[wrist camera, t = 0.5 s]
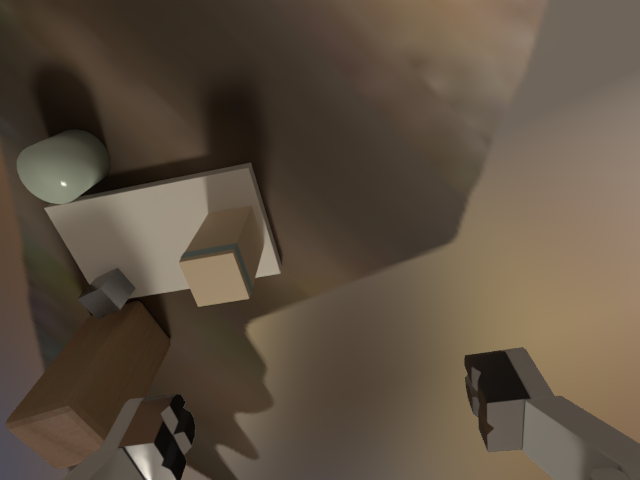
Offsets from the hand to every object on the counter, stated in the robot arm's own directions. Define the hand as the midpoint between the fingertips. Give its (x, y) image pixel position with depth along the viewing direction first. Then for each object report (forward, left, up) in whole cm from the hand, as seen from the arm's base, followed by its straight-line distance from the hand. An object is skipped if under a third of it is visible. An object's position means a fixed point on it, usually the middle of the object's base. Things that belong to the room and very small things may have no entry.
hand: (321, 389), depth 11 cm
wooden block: (+28, -38, -42) cm, 63 cm away
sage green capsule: (0, -32, -42) cm, 52 cm away
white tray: (+13, -25, -42) cm, 50 cm away
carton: (+13, -15, -40) cm, 44 cm away
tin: (+18, -35, -40) cm, 56 cm away
